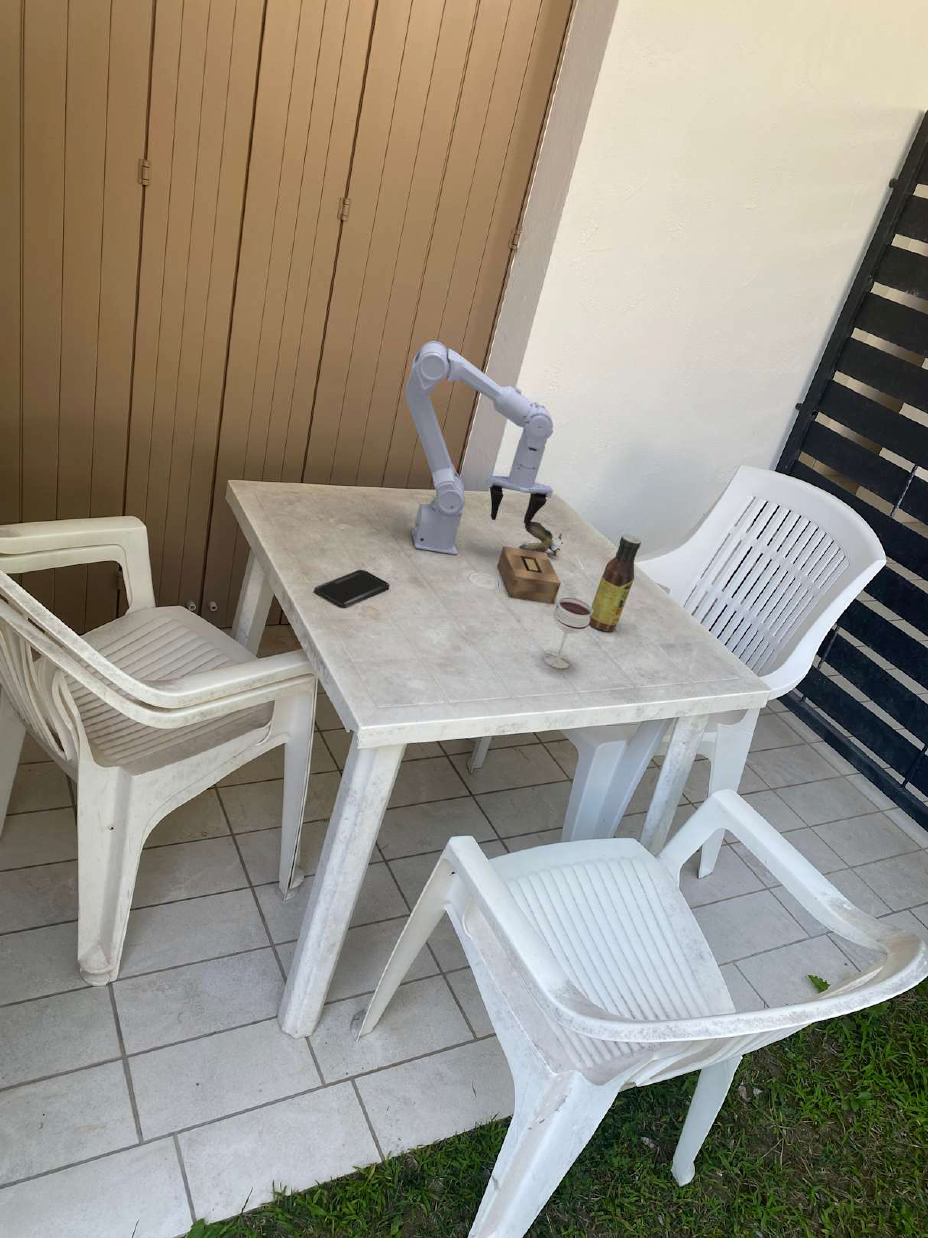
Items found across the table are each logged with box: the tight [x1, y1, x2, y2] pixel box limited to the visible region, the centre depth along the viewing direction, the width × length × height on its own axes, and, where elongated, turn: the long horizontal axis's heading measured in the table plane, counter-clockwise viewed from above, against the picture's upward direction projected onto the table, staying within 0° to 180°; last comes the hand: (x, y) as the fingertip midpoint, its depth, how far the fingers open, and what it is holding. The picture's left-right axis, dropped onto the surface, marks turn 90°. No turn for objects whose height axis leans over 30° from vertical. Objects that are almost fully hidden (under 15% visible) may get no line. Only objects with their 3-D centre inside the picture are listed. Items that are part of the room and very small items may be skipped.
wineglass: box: [543, 596, 593, 669], centre depth 172 cm, size 7×7×12 cm
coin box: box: [497, 545, 562, 605], centre depth 200 cm, size 10×14×5 cm
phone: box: [313, 569, 391, 609], centre depth 180 cm, size 8×1×15 cm
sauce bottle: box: [589, 534, 642, 632], centre depth 188 cm, size 7×6×20 cm
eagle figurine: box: [518, 520, 564, 557], centre depth 217 cm, size 8×7×9 cm
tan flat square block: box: [523, 559, 538, 572], centre depth 200 cm, size 2×5×5 cm, turn 9°
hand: (509, 520), depth 205 cm, fingers open, 7 cm apart
